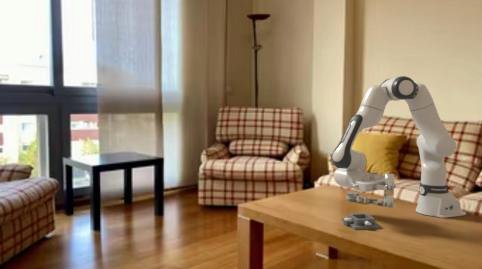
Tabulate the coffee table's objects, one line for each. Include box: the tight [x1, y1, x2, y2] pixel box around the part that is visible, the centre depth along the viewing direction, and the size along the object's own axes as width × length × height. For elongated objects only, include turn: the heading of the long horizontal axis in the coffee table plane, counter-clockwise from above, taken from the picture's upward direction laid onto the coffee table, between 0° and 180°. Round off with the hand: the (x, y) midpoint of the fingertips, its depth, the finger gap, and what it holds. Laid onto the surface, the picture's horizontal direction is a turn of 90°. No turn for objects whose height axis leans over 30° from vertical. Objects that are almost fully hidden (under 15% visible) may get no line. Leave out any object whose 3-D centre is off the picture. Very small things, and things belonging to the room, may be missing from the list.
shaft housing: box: [341, 212, 382, 231], centre depth 180 cm, size 14×14×4 cm
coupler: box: [382, 173, 395, 208], centre depth 179 cm, size 4×4×14 cm
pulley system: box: [345, 191, 384, 206], centre depth 224 cm, size 27×5×15 cm
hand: (390, 187), depth 178 cm, fingers closed on coupler, 4 cm apart
